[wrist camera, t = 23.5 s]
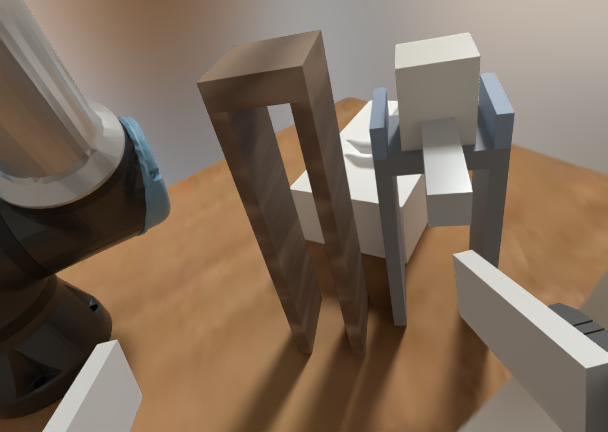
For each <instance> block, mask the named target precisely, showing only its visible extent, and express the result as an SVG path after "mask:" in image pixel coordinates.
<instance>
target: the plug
mask: <svg viewBox="0 0 608 432" xmlns="http://www.w3.org/2000/svg"><path fill="white" fill-rule="evenodd" d="M479 71H480V54H479V52H478V50H477V48H476V46H475V44H474V41H473V39H472V37H471V35H470V33H469V32H468V33H462V34H456V35H450V36H445V37H438V38H433V39H426V40H421V41H415V42H408V43H403V44H397V45H396V48H395V74H396V87H397V99H398V112H399V125H400V138H401V150H402V151H410V150H420V149H422V159H423V170H424V182H425V193H426V205H427V216H428V227H438V226H460V225H471V216H472V195H473V191H472V187H471V183H470V179H469V175H468V170H467V166H466V162H465V158H464V154H463V149H462V145H472V144H476V135H477V114H478V94H479Z"/></svg>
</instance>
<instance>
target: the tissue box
mask: <svg viewBox="0 0 608 432" xmlns="http://www.w3.org/2000/svg"><path fill="white" fill-rule="evenodd" d="M371 109H372V101H369V102H368V103H367V104H366V105H365V107H364V108H363V109H362V110H361V111H360V112H359V113H358V114H357V115H356V116H355V117H354V119H353V120H352V121H351V122H350V123H349V124H348V125H347V126H346V127H345V128H344V129H343V130H342V132H341V133H340V139H341V145H342V150H343V156H344V162H345V167H346V173H347V178H348V184H349V190H350V195H351V201H352V206H353V212H354V218H355V223H356V229H357V234H358V240H359V245H360V251H361V253H365V254H369V255H373V256H377V257H382V258H386V256H385V249H384V241H383V233H382V225H381V218H380V210H379V202H378V194H377V187H376V179H375V171H374V163H373V156H372V148H371V140H370V132H369V126H370V117H371ZM388 110H389V116H391V115H399V112H398V101H388ZM397 183H398V194H399V205H400V216H401V227H402V239H403V250H404V261H405V263H408V261H409V259H410V257H411V255H412V253H413V251H414V249H415V247H416V245H417V243H418V241H419V239H420V237H421V235H422V233H423V231H424V229H425V227H426V225H427V223H428V216H427V205H426V193H425V182H424V174H416V175H404V176H397ZM290 189H291V192H292V196H293V199H294V203H295V206H296V210H297V213H298V217H299V220H300V224H301V227H302V231H303V234H304V238H305V240H310V241H314V242H318V243H322V244H325V242H324V238H323V234H322V230H321V226H320V222H319V218H318V214H317V210H316V206H315V202H314V198H313V194H312V190H311V186H310V182H309V178H308V174H307V170H306V171H305V172H304V173H303V174H302V175H301V176H300V177H299V178H298V179H297V181H296V182H295V183H294V184H293V185H292V186H291V187H290Z"/></svg>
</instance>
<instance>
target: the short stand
mask: <svg viewBox="0 0 608 432" xmlns="http://www.w3.org/2000/svg"><path fill="white" fill-rule="evenodd" d="M513 123H514V110H513V108H512V106H511V105H510V102H509V101H508V98H507V96H506V95H505V92H504V90H503V88H502V86H501V85H500V83H499V81H498V79H497V77H496V75H495V73H494V72H492V73H484V74H480V83H479V103H478V114H477V135H476V144H472V145H462V149H463V154H464V158H465V162H466V166H467V170H473V176H472V191H473V195H472V216H471V225H470V243H469V250H473V251H474V252H476V253H477V254H478V255H480V256H481V257H482V258H483V259H485V260H486V261H487V262H489V263H490V264H491V265H493V266H494V267H495V268H497V269H498V262H499V252H500V243H501V234H502V225H503V215H504V206H505V197H506V188H507V178H508V169H509V160H510V151H511V141H512V132H513ZM369 132H370V140H371V148H372V156H373V163H374V171H375V179H376V187H377V194H378V202H379V210H380V218H381V225H382V233H383V241H384V249H385V256H386V264H387V272H388V280H389V287H390V295H391V303H392V311H393V319H394V326H407V316H406V272H405V261H404V250H403V239H402V227H401V216H400V205H399V194H398V183H397V176H404V175H416V174H424V170H423V159H422V149H420V150H410V151H402V150H401V138H400V125H399V115H391V116H389V110H388V100H387V89H386V87H384V88H377V89H374V93H373V100H372V109H371V117H370V126H369Z"/></svg>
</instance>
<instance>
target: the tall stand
mask: <svg viewBox="0 0 608 432" xmlns="http://www.w3.org/2000/svg"><path fill="white" fill-rule="evenodd" d="M197 85H198V88H199V90H200V93H201V96H202V98H203V101H204V104H205V106H206V109H207V111H208V114H209V117H210V119H211V122H212V124H213V127H214V130H215V132H216V135H217V138H218V140H219V143H220V145H221V148H222V150H223V153H224V156H225V158H226V161H227V164H228V166H229V169H230V171H231V174H232V177H233V179H234V182H235V184H236V187H237V190H238V192H239V195H240V197H241V200H242V203H243V205H244V208H245V210H246V213H247V216H248V218H249V221H250V223H251V226H252V229H253V231H254V234H255V236H256V239H257V242H258V244H259V247H260V250H261V252H262V255H263V257H264V260H265V263H266V265H267V268H268V270H269V273H270V276H271V278H272V281H273V283H274V286H275V289H276V291H277V294H278V296H279V299H280V302H281V304H282V307H283V309H284V312H285V315H286V317H287V320H288V322H289V325H290V328H291V330H292V333H293V335H294V338H295V341H296V343H297V346H298V348H299V351H300V353H309V354H312V350H313V344H314V339H315V333H316V328H317V322H318V317H319V312H320V306H321V301H322V297H321V294H320V290H319V287H318V283H317V280H316V276H315V273H314V269H313V266H312V262H311V259H310V255H309V252H308V248H307V245H306V241H305V238H304V234H303V231H302V227H301V224H300V220H299V217H298V213H297V210H296V206H295V203H294V199H293V196H292V192H291V189H290V185H289V182H288V178H287V175H286V171H285V168H284V164H283V161H282V158H281V154H280V151H279V147H278V144H277V140H276V137H275V133H274V130H273V126H272V123H271V119H270V116H269V112H268V109H267V106H271V105H278V104H285V103H290V105H291V109H292V114H293V117H294V121H295V126H296V130H297V134H298V138H299V142H300V146H301V150H302V154H303V158H304V162H305V166H306V170H307V174H308V178H309V182H310V186H311V190H312V194H313V198H314V202H315V206H316V210H317V214H318V218H319V222H320V226H321V230H322V234H323V238H324V242H325V246H326V250H327V254H328V258H329V262H330V266H331V270H332V274H333V278H334V282H335V287H336V291H337V295H338V299H339V303H340V307H341V311H342V315H343V319H344V323H345V327H346V331H347V335H348V339H349V343H350V347H351V351H352V355H360V356H365V348H366V334H367V320H368V306H369V296H368V290H367V285H366V279H365V273H364V268H363V262H362V257H361V251H360V245H359V240H358V234H357V229H356V223H355V218H354V212H353V206H352V201H351V195H350V190H349V184H348V178H347V173H346V167H345V162H344V156H343V150H342V145H341V139H340V134H339V128H338V123H337V117H336V111H335V106H334V100H333V95H332V89H331V83H330V78H329V72H328V67H327V61H326V56H325V50H324V44H323V39H322V33H321V30H317V31H311V32H306V33H300V34H295V35H290V36H284V37H279V38H274V39H269V40H263V41H258V42H253V43H247V44H242V45H236V46H233V47H232V48H231V49H230V50H229V51H228V52H227V53H226V54H225V55H224V56H223V57H222V58H221V59H220V60H219V61H218V62H217V63H216V64H215V65H214V66H213V67H212V68H211V69H210V70H209V71H208V72H207V73H206V74H205V75H204V76H203V77H202V78H201V79H200V80H199V81H198V82H197Z"/></svg>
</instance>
